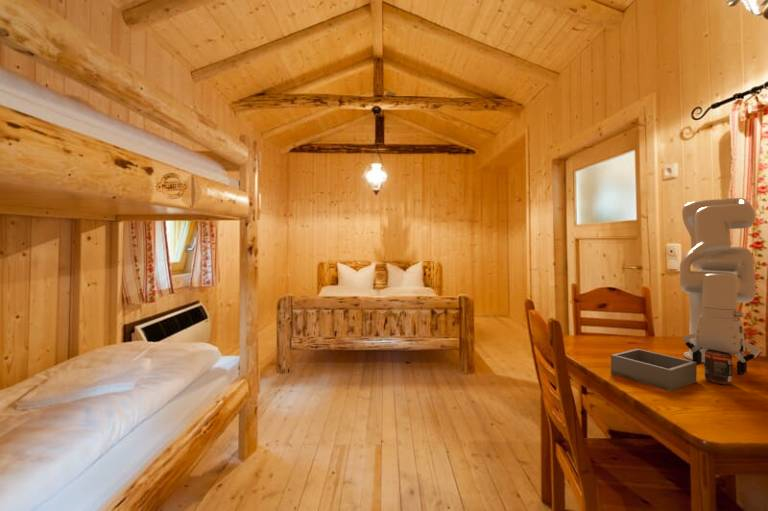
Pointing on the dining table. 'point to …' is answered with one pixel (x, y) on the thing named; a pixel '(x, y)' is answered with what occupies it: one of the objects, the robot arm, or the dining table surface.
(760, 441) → the dining table surface
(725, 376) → the supplement bottle
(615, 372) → the bin
